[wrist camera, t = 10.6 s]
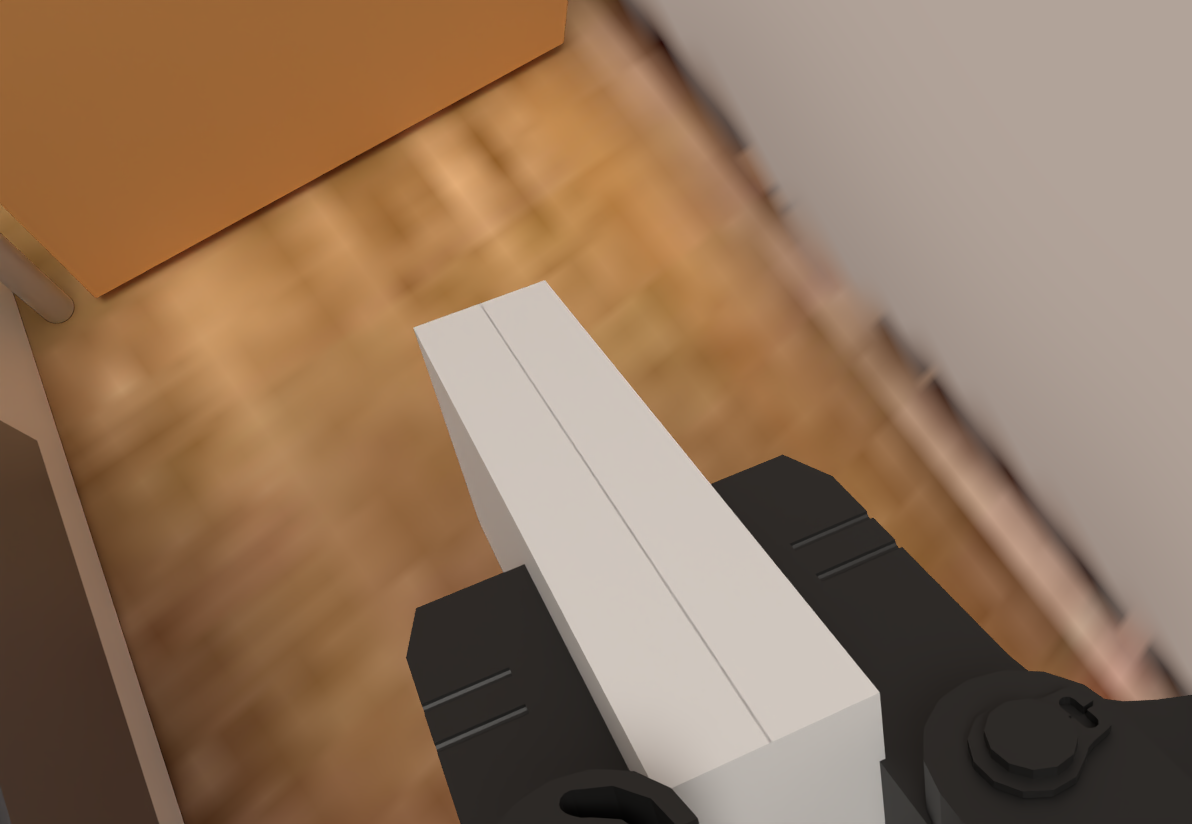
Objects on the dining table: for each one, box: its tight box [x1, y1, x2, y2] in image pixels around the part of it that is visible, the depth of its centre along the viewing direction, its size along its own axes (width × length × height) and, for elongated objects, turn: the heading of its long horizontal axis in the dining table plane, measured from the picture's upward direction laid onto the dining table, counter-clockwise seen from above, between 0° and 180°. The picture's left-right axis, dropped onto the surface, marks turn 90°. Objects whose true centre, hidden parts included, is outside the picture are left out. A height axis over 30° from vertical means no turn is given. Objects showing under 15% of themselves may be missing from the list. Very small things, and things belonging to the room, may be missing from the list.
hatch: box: [0, 0, 568, 298], centre depth 25 cm, size 14×2×11 cm, turn 124°
